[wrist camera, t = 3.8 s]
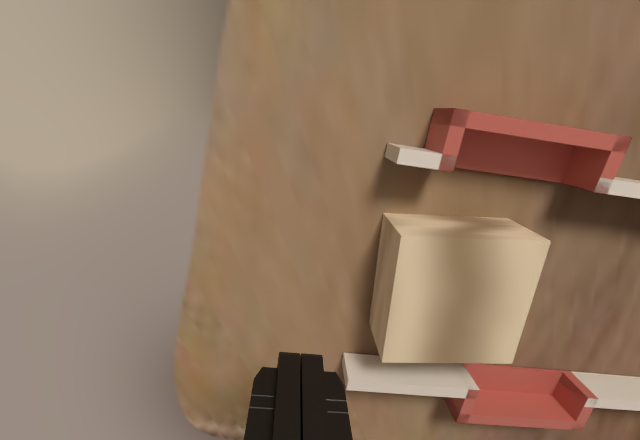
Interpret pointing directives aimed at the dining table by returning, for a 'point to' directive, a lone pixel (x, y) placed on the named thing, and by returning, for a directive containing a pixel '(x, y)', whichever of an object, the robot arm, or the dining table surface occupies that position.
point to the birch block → (453, 288)
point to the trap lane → (494, 380)
